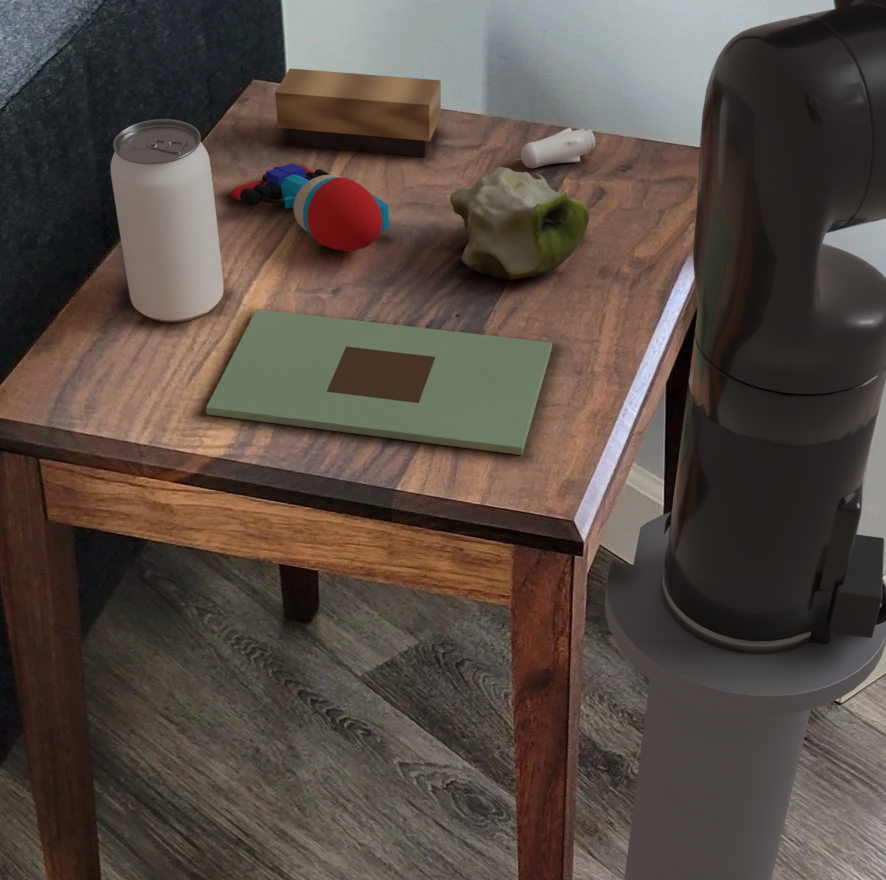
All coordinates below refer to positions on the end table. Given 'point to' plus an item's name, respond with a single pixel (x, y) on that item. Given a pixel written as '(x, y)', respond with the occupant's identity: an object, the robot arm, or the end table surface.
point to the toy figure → (321, 205)
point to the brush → (358, 111)
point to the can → (167, 220)
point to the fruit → (518, 224)
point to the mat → (384, 380)
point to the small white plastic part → (558, 148)
